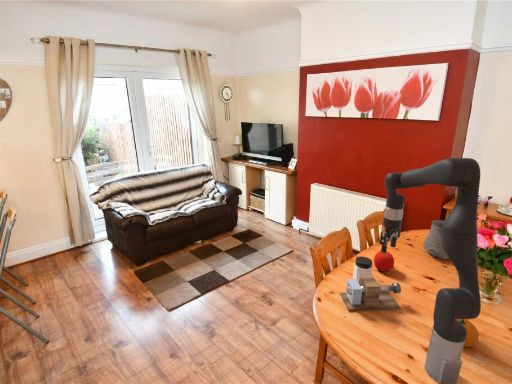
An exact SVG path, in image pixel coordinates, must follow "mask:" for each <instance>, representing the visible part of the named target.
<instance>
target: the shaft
mask: <svg viewBox="0 0 512 384" xmlns="http://www.w3.org/2000/svg"><path fill="white" fill-rule="evenodd" d="M379 285H380V284H379ZM380 286H381V289H380V292H389V293H393V294H396V295H397V294H401V292H402V288H401V285H400V283H399V282H393V283H392V284H386V285H385V284H381V285H380ZM346 287H347V293H352V289H351V288H350V286H347V285H346ZM361 288H362V293H364V289H365V288H364V287H363V286H361Z"/></svg>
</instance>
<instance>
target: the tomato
mask: <svg viewBox="0 0 512 384" xmlns="http://www.w3.org/2000/svg"><path fill="white" fill-rule="evenodd" d="M373 264H374V267H375V268H376V269H377V270H378V271H382V272H390V271H391V270H392V269H393V268H394V265H395V258H394V256H393V255H392V253H390V252H389V251H387V252H386V253H383V252H381V250H379V251H378V252H377V253H376V254H375V255H374V256H373Z"/></svg>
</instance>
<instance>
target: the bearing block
mask: <svg viewBox="0 0 512 384" xmlns="http://www.w3.org/2000/svg"><path fill="white" fill-rule="evenodd" d="M359 285H360V286H363V287H364V288H365V289H364V293H362V296H361V304H353V305H352V304H351V302H350V300H349V298H348V297H347V295H346V292H340V293H339V295H340V296H341V298H342V302H343V303H344V306H345V307H346V309H347V311H348V312H369V311H371V312H373V311H398V310H399V311H400V310H401V309H402V307H401V306H400V304H399V303H398V302H397V300H396V299H395V298H394V296H393V295H392V294H391V292H380V289H381V286H380V283H379V282H378V281H377V280H376V278H375V277H374V275H360V278H359Z"/></svg>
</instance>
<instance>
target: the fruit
mask: <svg viewBox="0 0 512 384" xmlns="http://www.w3.org/2000/svg"><path fill="white" fill-rule="evenodd" d="M455 320H457V321H459V322H460V323H461V324H463V326H464V327H465V328H466V330H467V336H466V339H465V343H464V347H463V348H471V347H473V346H475V345H476V344H477V343H478V341H479V337H480V334H479V331H478V328H477V327H476V326H475V324H474V323H472V322H471V321H470V319H455Z"/></svg>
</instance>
